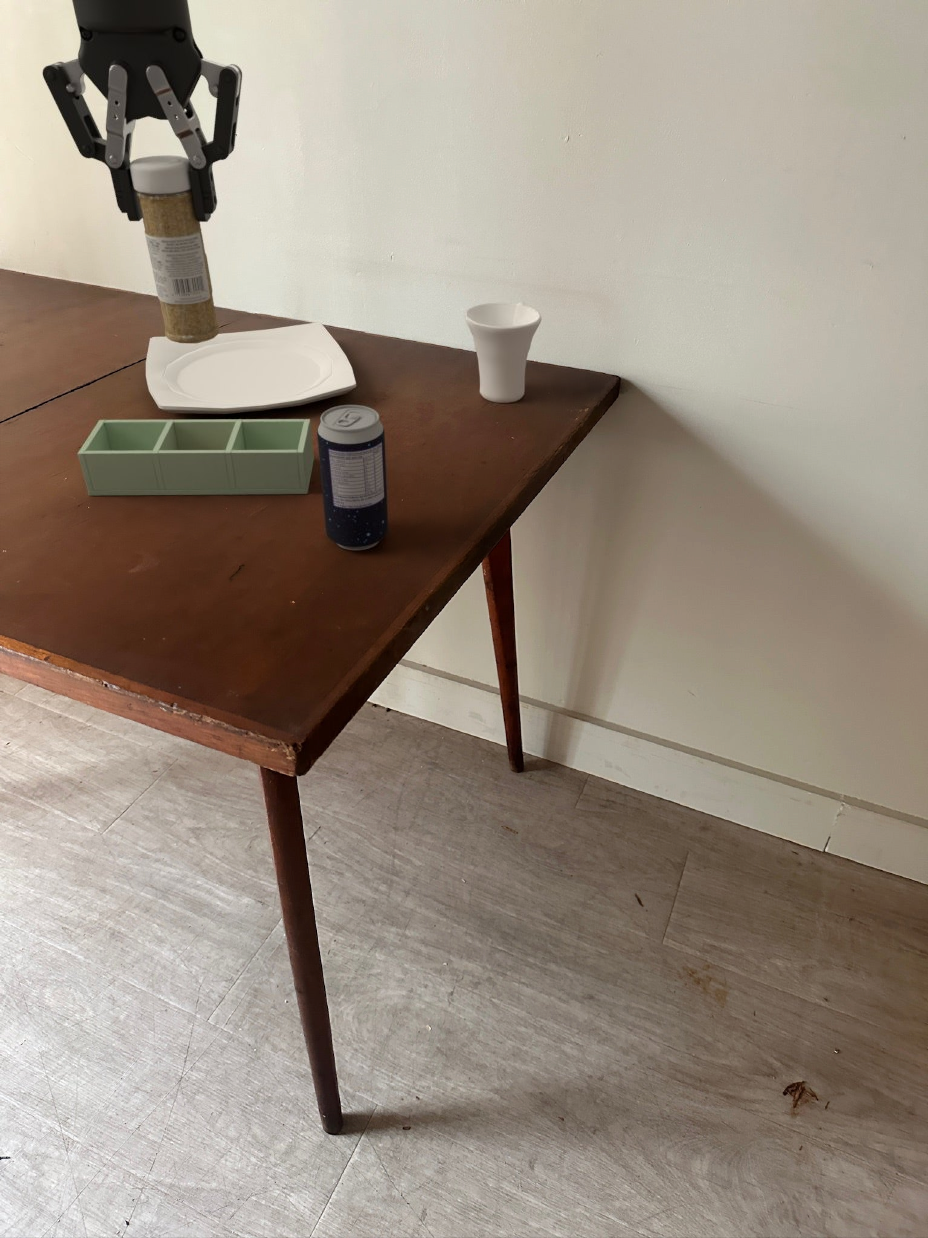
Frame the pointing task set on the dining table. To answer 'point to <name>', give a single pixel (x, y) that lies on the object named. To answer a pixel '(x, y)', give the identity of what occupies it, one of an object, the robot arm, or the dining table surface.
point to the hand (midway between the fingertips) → (170, 217)
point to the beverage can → (353, 476)
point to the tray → (198, 457)
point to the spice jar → (175, 247)
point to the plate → (248, 371)
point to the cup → (502, 347)
